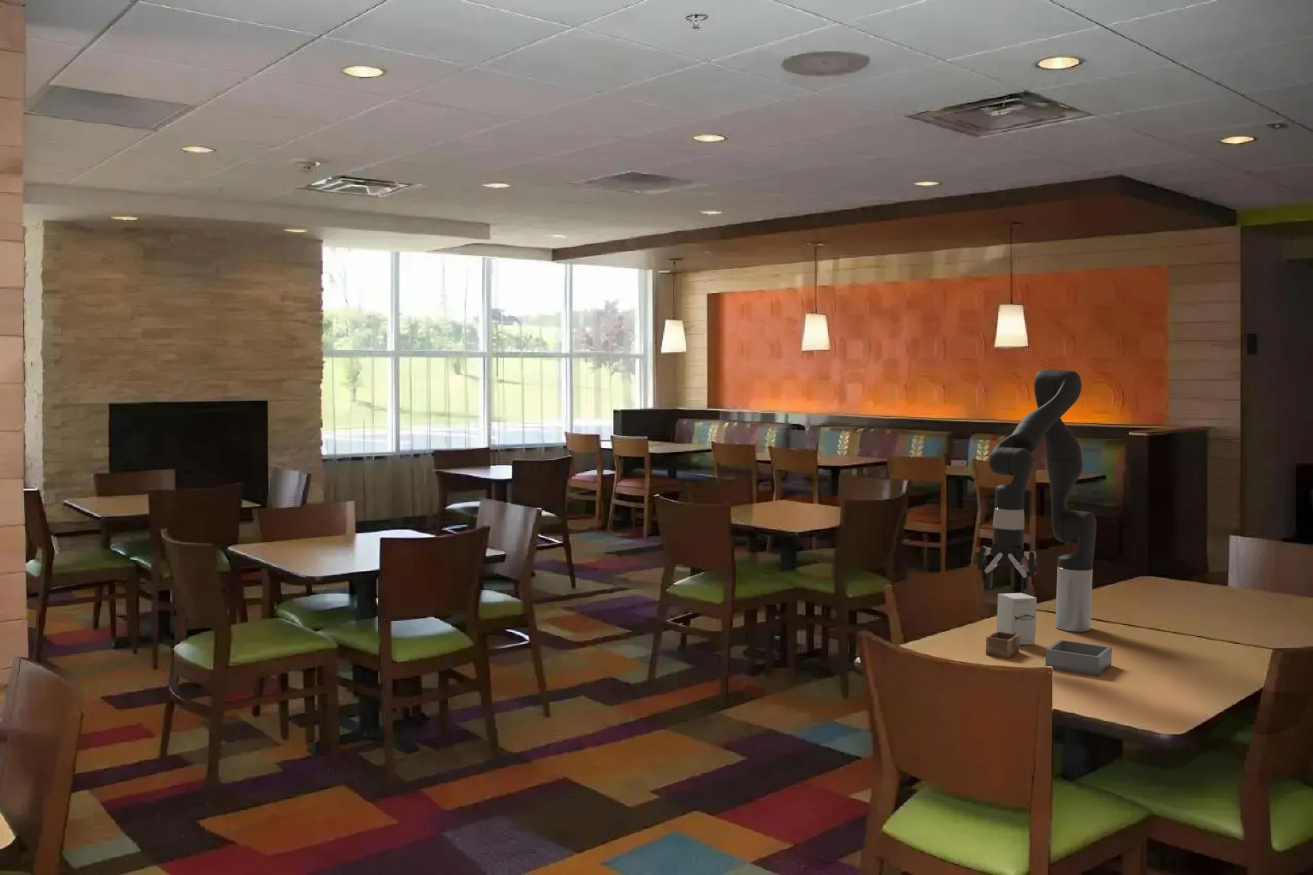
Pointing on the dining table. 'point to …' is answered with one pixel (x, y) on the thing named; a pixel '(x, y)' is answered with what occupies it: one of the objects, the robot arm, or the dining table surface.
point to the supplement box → (1017, 616)
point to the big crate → (1079, 657)
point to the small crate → (1002, 644)
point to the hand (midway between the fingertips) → (1006, 589)
